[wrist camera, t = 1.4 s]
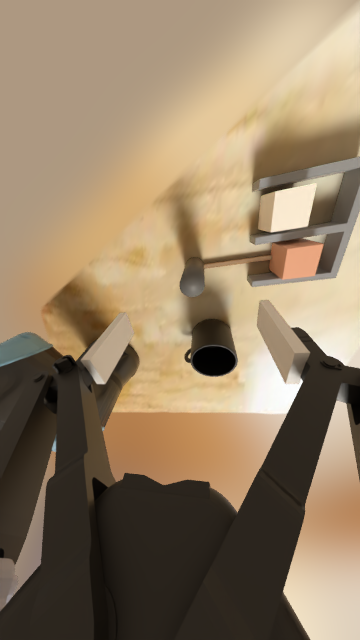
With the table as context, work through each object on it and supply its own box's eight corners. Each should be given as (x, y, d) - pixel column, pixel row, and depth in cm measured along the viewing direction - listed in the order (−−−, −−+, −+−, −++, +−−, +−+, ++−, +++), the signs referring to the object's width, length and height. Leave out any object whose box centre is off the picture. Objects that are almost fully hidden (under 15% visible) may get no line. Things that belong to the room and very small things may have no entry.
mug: (176, 331, 41) (171, 358, 33) (221, 312, 36) (225, 337, 29) (195, 355, 45) (193, 384, 37) (236, 340, 40) (244, 369, 33)
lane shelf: (247, 280, 32) (251, 287, 29) (252, 183, 24) (259, 178, 21) (322, 271, 29) (335, 277, 27) (356, 160, 22) (380, 151, 19)
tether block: (187, 279, 33) (182, 300, 25) (183, 256, 31) (177, 272, 22) (295, 265, 29) (332, 285, 21) (301, 238, 27) (345, 249, 19)
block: (258, 229, 27) (270, 232, 22) (260, 195, 25) (275, 191, 20) (287, 224, 26) (307, 226, 21) (293, 189, 24) (317, 182, 19)
